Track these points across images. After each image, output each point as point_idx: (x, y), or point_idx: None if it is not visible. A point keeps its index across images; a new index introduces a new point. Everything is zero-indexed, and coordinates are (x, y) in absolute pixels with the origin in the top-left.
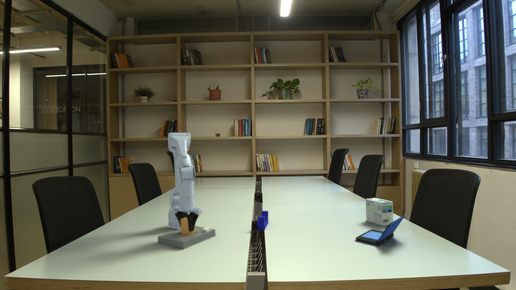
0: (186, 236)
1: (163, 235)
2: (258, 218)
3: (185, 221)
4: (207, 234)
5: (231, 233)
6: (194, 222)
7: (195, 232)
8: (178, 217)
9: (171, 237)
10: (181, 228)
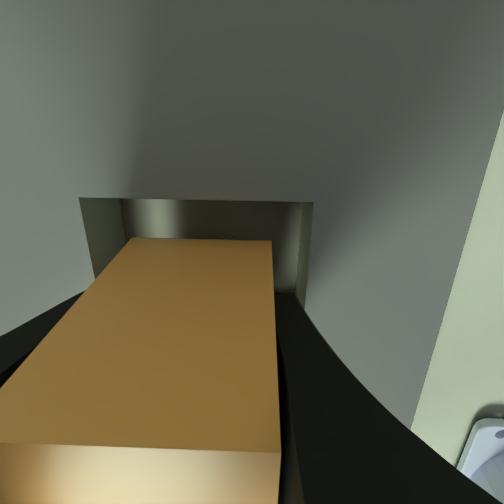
0: (76, 178)
1: (483, 12)
2: None
3: (84, 400)
4: None
5: None
6: None
7: None
8: (355, 483)
9: (248, 2)
10: (258, 289)
